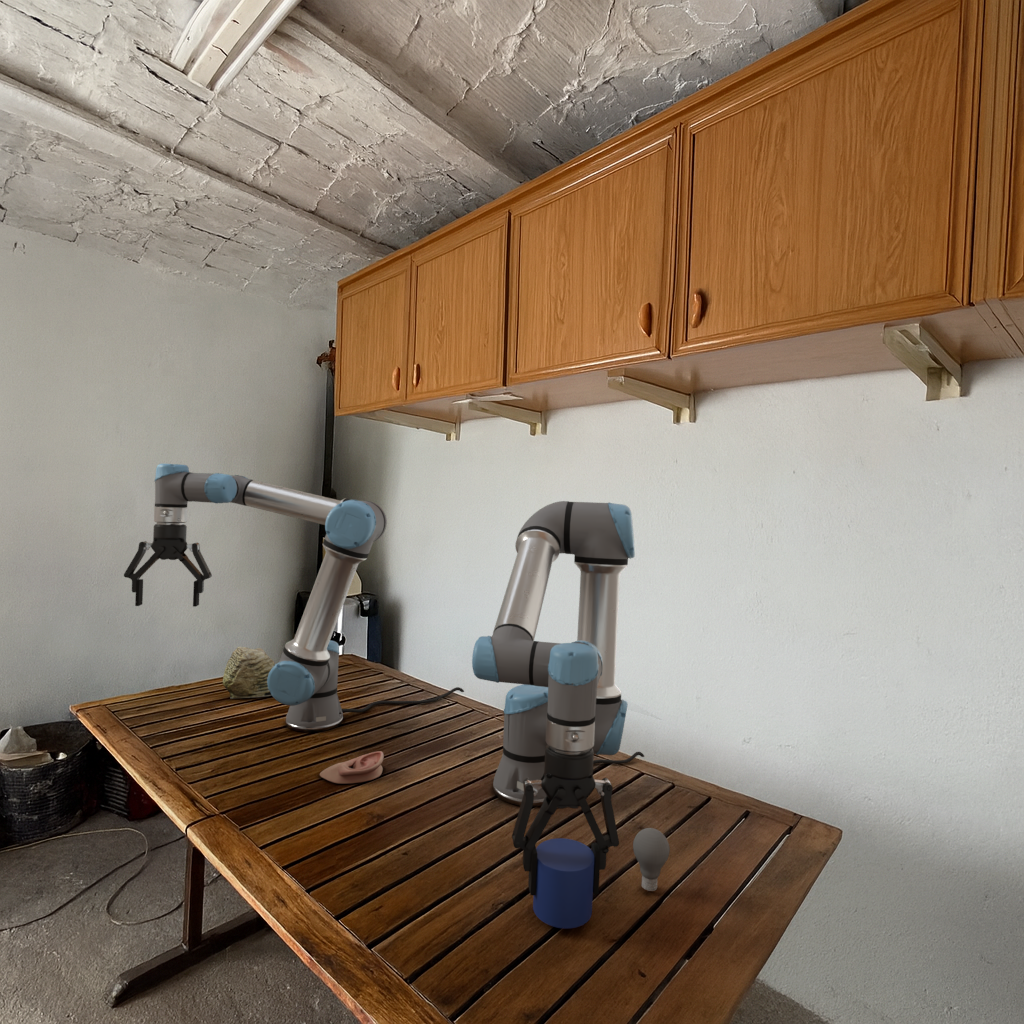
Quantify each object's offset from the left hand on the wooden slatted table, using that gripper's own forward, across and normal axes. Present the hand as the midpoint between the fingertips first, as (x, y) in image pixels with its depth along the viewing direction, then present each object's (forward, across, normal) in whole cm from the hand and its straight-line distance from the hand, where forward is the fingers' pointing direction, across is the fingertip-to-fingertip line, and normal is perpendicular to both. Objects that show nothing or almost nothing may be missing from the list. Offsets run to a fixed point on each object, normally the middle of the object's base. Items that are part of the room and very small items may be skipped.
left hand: (167, 605), depth 164 cm
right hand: (+29, +83, -85) cm, 122 cm away
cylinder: (+32, +83, -85) cm, 123 cm away
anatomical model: (+33, +49, -30) cm, 66 cm away
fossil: (+33, +17, +31) cm, 48 cm away
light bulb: (+33, +100, -80) cm, 132 cm away
